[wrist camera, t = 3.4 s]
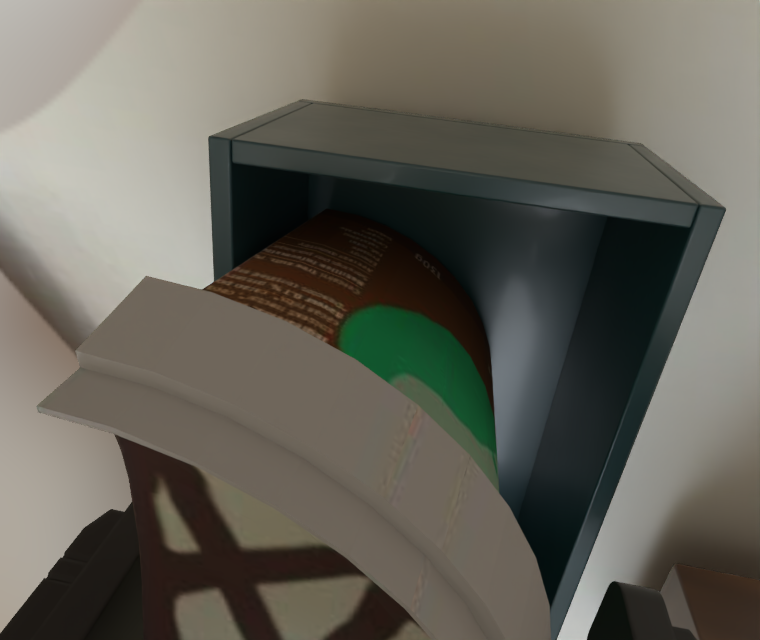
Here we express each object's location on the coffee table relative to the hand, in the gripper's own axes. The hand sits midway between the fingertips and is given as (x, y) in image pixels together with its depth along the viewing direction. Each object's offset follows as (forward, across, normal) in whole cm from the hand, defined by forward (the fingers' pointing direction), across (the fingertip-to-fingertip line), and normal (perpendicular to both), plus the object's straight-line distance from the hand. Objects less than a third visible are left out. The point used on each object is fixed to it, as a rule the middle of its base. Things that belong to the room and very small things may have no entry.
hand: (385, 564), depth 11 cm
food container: (+7, 0, 0) cm, 7 cm away
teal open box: (+7, 0, 0) cm, 7 cm away
